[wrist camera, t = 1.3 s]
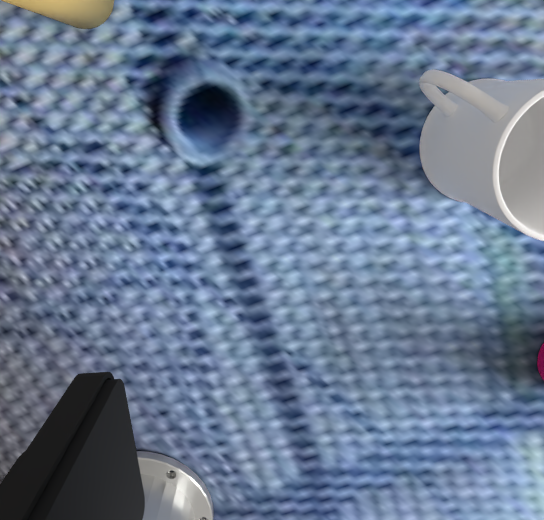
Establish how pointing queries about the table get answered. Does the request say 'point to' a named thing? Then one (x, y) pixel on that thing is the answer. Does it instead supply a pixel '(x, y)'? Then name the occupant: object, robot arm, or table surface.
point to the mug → (487, 146)
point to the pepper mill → (541, 361)
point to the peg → (70, 10)
